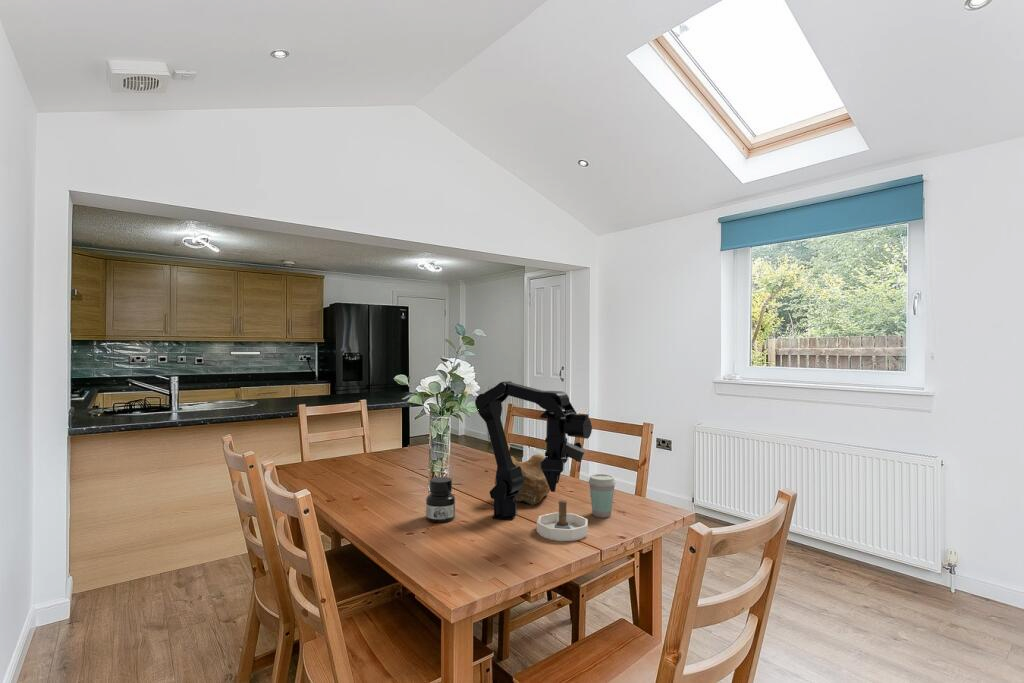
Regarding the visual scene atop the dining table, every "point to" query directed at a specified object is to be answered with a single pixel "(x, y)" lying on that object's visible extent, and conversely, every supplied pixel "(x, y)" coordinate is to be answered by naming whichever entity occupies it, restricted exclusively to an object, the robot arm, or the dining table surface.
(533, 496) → the tan rock
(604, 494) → the coffee cup
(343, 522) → the dining table surface
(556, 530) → the octagonal white tray
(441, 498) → the ink bottle
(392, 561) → the dining table surface
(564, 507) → the tall wooden post
